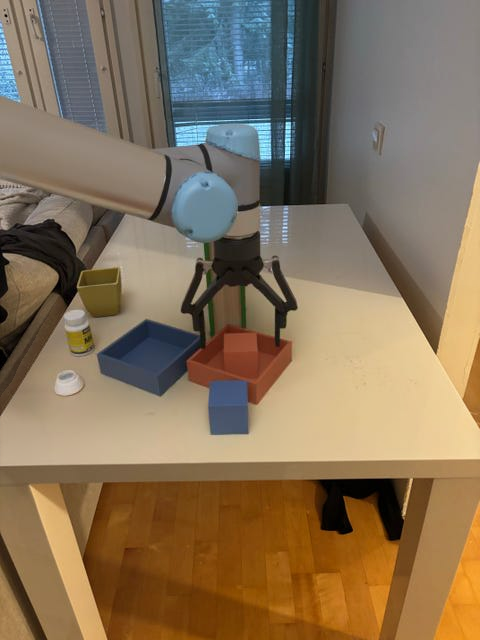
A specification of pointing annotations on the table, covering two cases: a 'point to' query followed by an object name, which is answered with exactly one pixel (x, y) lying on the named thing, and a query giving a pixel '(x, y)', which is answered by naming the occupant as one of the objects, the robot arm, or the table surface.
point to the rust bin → (211, 368)
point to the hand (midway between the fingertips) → (240, 343)
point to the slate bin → (149, 356)
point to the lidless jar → (68, 383)
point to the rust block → (241, 354)
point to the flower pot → (100, 291)
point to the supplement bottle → (78, 333)
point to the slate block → (228, 407)
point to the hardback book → (224, 301)
